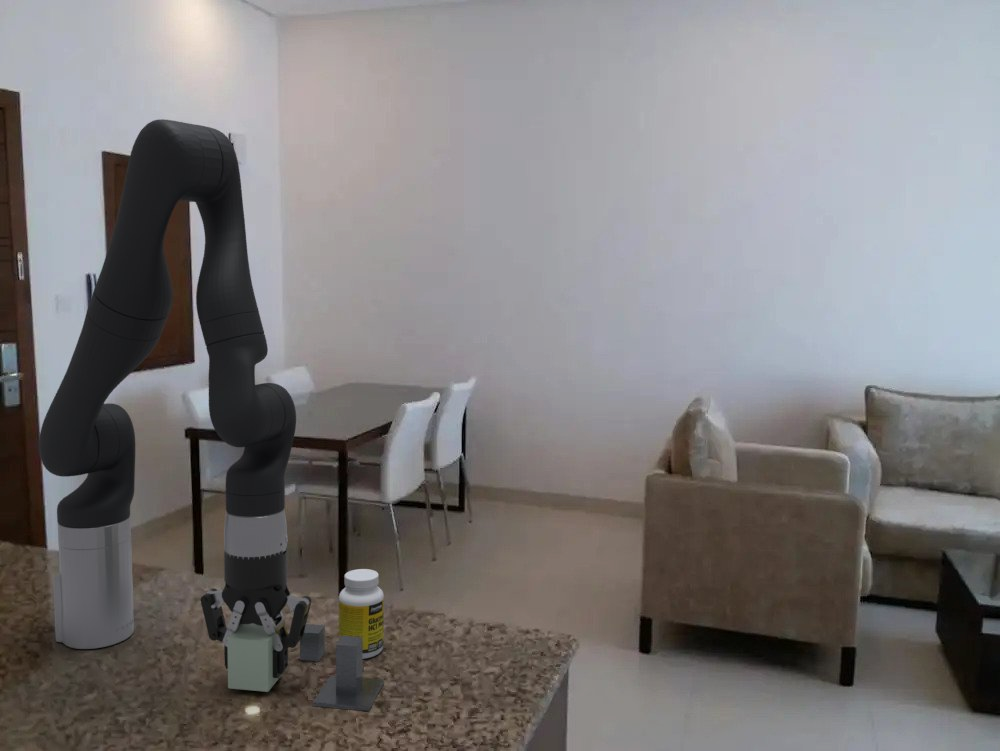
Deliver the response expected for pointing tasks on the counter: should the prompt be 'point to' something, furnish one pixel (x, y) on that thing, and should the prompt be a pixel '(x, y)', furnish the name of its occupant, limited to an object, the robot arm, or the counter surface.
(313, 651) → the short post
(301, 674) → the counter surface
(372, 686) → the post on square base
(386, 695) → the counter surface
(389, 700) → the counter surface
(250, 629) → the pale green block
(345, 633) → the pill bottle
